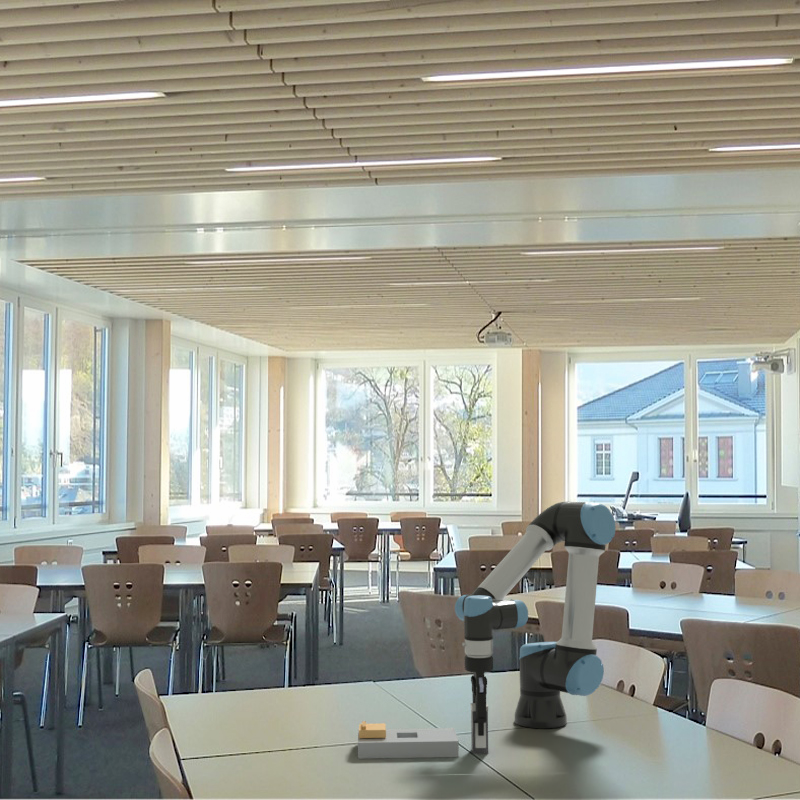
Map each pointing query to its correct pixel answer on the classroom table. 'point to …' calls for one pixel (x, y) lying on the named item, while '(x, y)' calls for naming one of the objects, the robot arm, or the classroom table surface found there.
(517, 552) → the robot arm
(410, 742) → the socket board
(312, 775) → the classroom table surface
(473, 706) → the plug
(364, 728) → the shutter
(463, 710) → the classroom table surface
